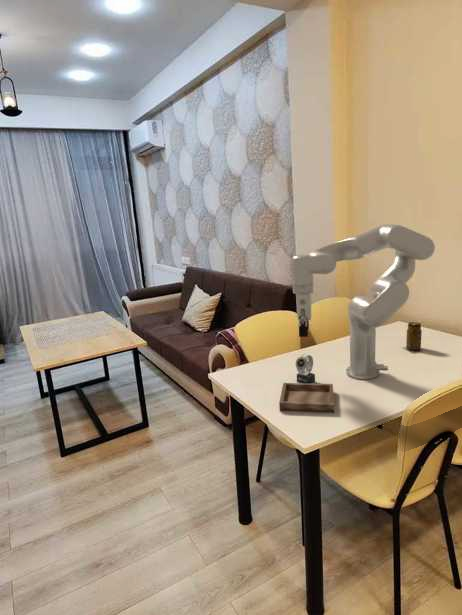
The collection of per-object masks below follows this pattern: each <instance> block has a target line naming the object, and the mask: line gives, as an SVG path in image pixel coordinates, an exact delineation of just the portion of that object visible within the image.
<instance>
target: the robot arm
mask: <svg viewBox="0 0 462 615" xmlns="http://www.w3.org/2000/svg"><path fill="white" fill-rule="evenodd" d="M384 249H392V250H394V253H395V254H394V256H395V257H394V261H393V262H392V264H391V265H390V267H389V268H388V269H387V270H385V272H383V273H382V274H381V275H380V276H379V277H378V278H376V280H375V281H374V282H373V283H372V284H371V286H370V289H369V290H370V294H371V296H372V297H369V296H367V295H361V294H360V295H355V296H354V297H353V298H352V299H350V300H349V303H348V306H347V312H348V313H347V314H348V320H349V336H350V337H349V356H350V357H349V366H348V367H346V370H345V373H346V375H347V376H348V377H350V378H354V379H356V380H372V379H375V378H377V377H379V376H380V371H387V372H388V371H389V366H388V365H384V363H378V362H376V338H377V337H376V335H377V333H376V332H377V331H376V330H377V329H376V327H379V326H382V325H383V324H384V323H386V322H387V321H388V320H389V319H391V317H392V316H394V314H396V313H397V312H398V311H399V310H400V309H401V308H403V306H404V305H405V304H406V303H407V301H408V299H409V296H410V288H409V286H408V284H407V283H408V282H409V281H410V280H411V278H412V277H413V276H414V273H415V270H416V260H417V261H424V260H428V259H429V258H431V257H432V256H433V255H434V253H435V243H434V241H433V239H431V238H430V237H429V236H426V235H424V234H421V233H420V232H416V231H415V230H413V229H411V228H407V227H406V226H403V225H400V224H390V223H389V224H381V225H379V226H375V227H373V228H371V229H369V230H367V231H365V232H361V233H360V234H358V235H357V234H356V235H355V236H352V237H349V238H346V239H343V240H340V241H336V242H333V243H330V244H327V245H324V246H323V247H320V248H318V249H317V248H316V249H315V250H313V251H312V252H310V253H309V254H295V255H294V256H292V258H291V274H292V275H291V276H292V293H293V294H294V295H295V298H296V299H295V300H296V316H297V320H298V321H299V322H298V323H299V324H298V336H299V337H300V338H308V336H309V329H310V328H309V327H310V324H309V323H310V321H311V320H312V294H313V293H314V275H315V274H316V275H328V274H330V273H332V272H334V271H335V269H336V268H337V262H338V263H339V262H343V261H355V260H360V259H363V258H366V257H368V256H370V255H372V254H375V253H378V252H380V251H382V250H384Z"/></svg>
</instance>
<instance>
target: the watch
mask: <svg viewBox="0 0 462 615" xmlns="http://www.w3.org/2000/svg"><path fill="white" fill-rule="evenodd" d="M313 366H314V358H313V356H312V355H311V354H306V353H304V354H303V353H302V355H300V356H299V357H298V358H297V359H296V360H295V367H296V370H297V372H298V373H296V383H313V384H314V383H315V382H316V374H315V373H312V370H313V368H314V367H313Z"/></svg>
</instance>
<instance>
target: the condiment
mask: <svg viewBox="0 0 462 615" xmlns="http://www.w3.org/2000/svg"><path fill="white" fill-rule="evenodd" d="M421 327H422V325H421V323H420V322H416V321H411V322H408V324H407V328H406V341H405V342H406V344H405V345H406V346H401V348H402V349H404V350H405V351H408V352H410V353H413V354H416V353H417V354H419V353H424V352H428V350H427V349H424V348H422V347H421V346H422V328H421Z"/></svg>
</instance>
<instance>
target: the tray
mask: <svg viewBox="0 0 462 615" xmlns="http://www.w3.org/2000/svg"><path fill="white" fill-rule="evenodd" d="M334 396H335V395H334V384H333V383H314V382H313V383H299V382H283V384H282V387H281V393H280V398H279V402H278V404H279V412H295V413H296V412H298V413H322V414H323V413H325V414H327V413H328V414H335V399H334V398H335V397H334Z"/></svg>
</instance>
